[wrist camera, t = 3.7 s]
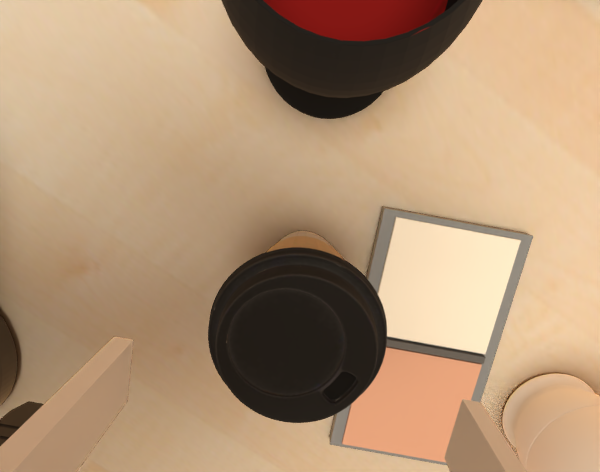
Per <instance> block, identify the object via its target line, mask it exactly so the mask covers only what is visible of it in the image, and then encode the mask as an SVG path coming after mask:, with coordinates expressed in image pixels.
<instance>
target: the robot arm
mask: <svg viewBox="0 0 600 472" xmlns="http://www.w3.org/2000/svg"><path fill="white" fill-rule="evenodd" d="M133 341H134V340H132V339H127V338H121V337H116V336H114V337H113V338H112V339H111V340H110V341H109V342H108V343H107V344H106V345H105V346H104V347H103V348H102V349H101V350H100V351H98V352H97V353H96V354H95V355H94V356H93V357H92V358H91V359H90V360H89V361H88V362H87V363H86V364H85V365H84V366H83V367H82V368H81V369H80V370H79V371H78V372H77V373H76V374H75V375H74V376H73V377H72V378H71V379H70V380H69V381H67V382H66V383H65V384H64V385H63V386H62V387H61V388H60V389H59V390H58V391H57V392H56V393H55V394H54V395H53V396H52V397H51V398H50V399H49V400H48V401H47V402H46V403H45V404H40V403H35V402H27V403H25V404H23V405H21V406H19V407H17V408H15V409H13V410H11V411H10V412H8V413H7V414H6V415H5V416H4V417H3V418H2V419H0V472H77V471H78V469H79V468H80V467H81V465H82V464H83V462H84V461H85V460H86V458H87V457H88V455H89V454H90V453H91V451H92V450H93V448H94V447H95V446H96V444H97V443H98V441H99V440H100V439H101V437H102V436H103V435H104V433H105V432H106V430H107V429H108V428H109V426H110V425H111V423H112V422H113V421H114V419H115V418H116V416H117V415H118V414H119V412H120V411H121V410H122V408H123V407H124V405H125V404H126V403H127V401H128V391H129V381H130V371H131V361H132V351H133ZM16 373H17V354H16V348H15V344H14V341H13V338H12V335H11V333H10V331H9V329H8V327H7V325H6V323H5V321H4V320H3V318H2V317H1V315H0V406H1V405H2V403H3V402H4V401H5V400H6V398H7V397H8V395H9V394H10V392H11V390H12V388H13V385H14V382H15V378H16ZM444 458H445V460H446V463H447V465H448V468H449V470H450V472H527V471H526V469H525V468H524V466H523V465H522V463H521V462H520V460H519V459H518V457H517V456H516V454H515V453H514V451H513V450H512V448H511V447H510V445H509V444H508V442H507V441H506V439H505V438H504V436H503V435H502V433H501V431H500V430H499V428H498V427H497V425H496V424H495V422H494V421H493V419H492V418H491V416H490V415H489V413H488V412H487V410H486V409H485V407H484V406H483V404H482V403H481V402H476V401H470V400H465V399H462V402H461V405H460V408H459V412H458V415H457V418H456V421H455V425H454V428H453V431H452V434H451V438H450V441H449V444H448V447H447V451H446V454H445V457H444Z"/></svg>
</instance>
